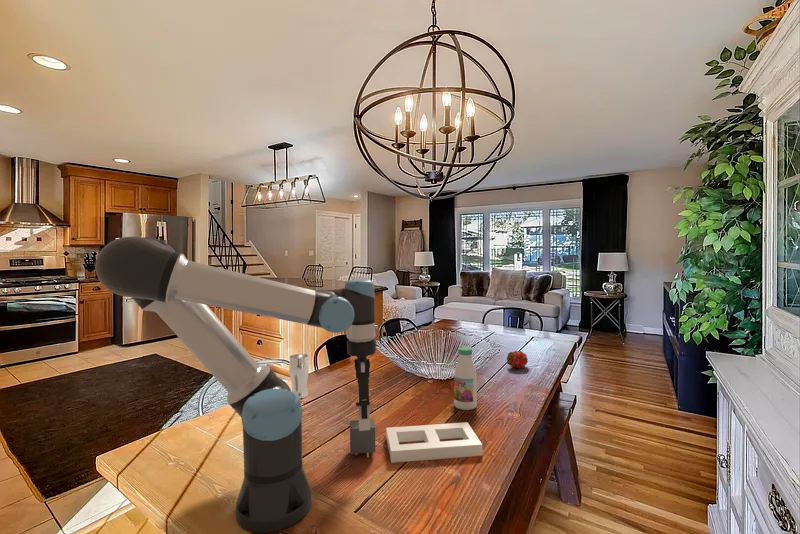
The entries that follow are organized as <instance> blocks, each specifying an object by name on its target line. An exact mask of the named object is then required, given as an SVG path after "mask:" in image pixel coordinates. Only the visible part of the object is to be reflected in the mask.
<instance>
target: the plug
mask: <svg viewBox="0 0 800 534" xmlns="http://www.w3.org/2000/svg"><path fill="white" fill-rule="evenodd" d="M349 447H350V449H349V450H350V451H349V452H350V453H349V454H351V455H352V454H355V456H358V455H359V454H366V458H369V457H370V453H376V422H375V419H374V418H372V419H371V418H370V430H365V431H359V419H356V420H355V419H353V420H349Z"/></svg>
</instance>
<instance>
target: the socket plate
mask: <svg viewBox="0 0 800 534" xmlns="http://www.w3.org/2000/svg"><path fill="white" fill-rule="evenodd" d="M385 433H386V443H387V449H388V454H389V458H390V459H389V460H390V463H403V462H404V463H405V462H418V461H420V462H421V461H430V460H431V461H432V460H441V459H442V460H443V459H456V458H457V459H458V458H469V457H482V456H483V443H482V442H481V441H480V439H479V437H478V436H477V434H476V433H475V432H474V430H473V429H472V427H471V426H470V424H469V423H468V422H467V421H466V422H452V423H438V424H436V423H435V424H424V425H423V424H422V425H410V426H409V425H408V426H393V427H391V426H390V427H386V430H385ZM449 439H455V440H449ZM456 439H458V440H456ZM441 440H443V441H441ZM419 441H420V442H419ZM421 441H422V442H421ZM423 441H424V442H423ZM407 442H408V443H407ZM409 442H413V443H409ZM414 442H415V443H414ZM400 443H403V444H400Z"/></svg>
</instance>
